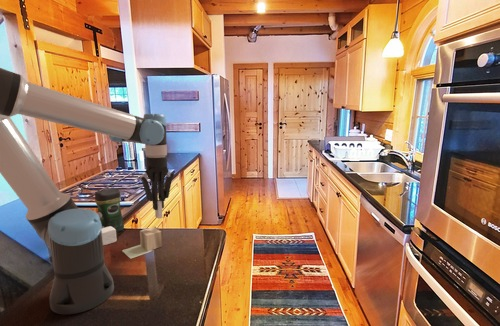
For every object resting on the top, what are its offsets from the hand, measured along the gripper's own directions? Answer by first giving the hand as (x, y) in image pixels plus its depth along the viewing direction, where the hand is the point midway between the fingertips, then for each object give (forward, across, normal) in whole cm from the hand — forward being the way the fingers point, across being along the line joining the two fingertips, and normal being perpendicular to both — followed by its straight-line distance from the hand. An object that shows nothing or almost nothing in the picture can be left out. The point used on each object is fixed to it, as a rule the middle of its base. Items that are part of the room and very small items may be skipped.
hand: (158, 217), depth 106 cm
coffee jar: (+11, +10, -25) cm, 29 cm away
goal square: (+11, +9, 0) cm, 14 cm away
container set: (+12, +22, -15) cm, 29 cm away
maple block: (+8, 0, 0) cm, 8 cm away
